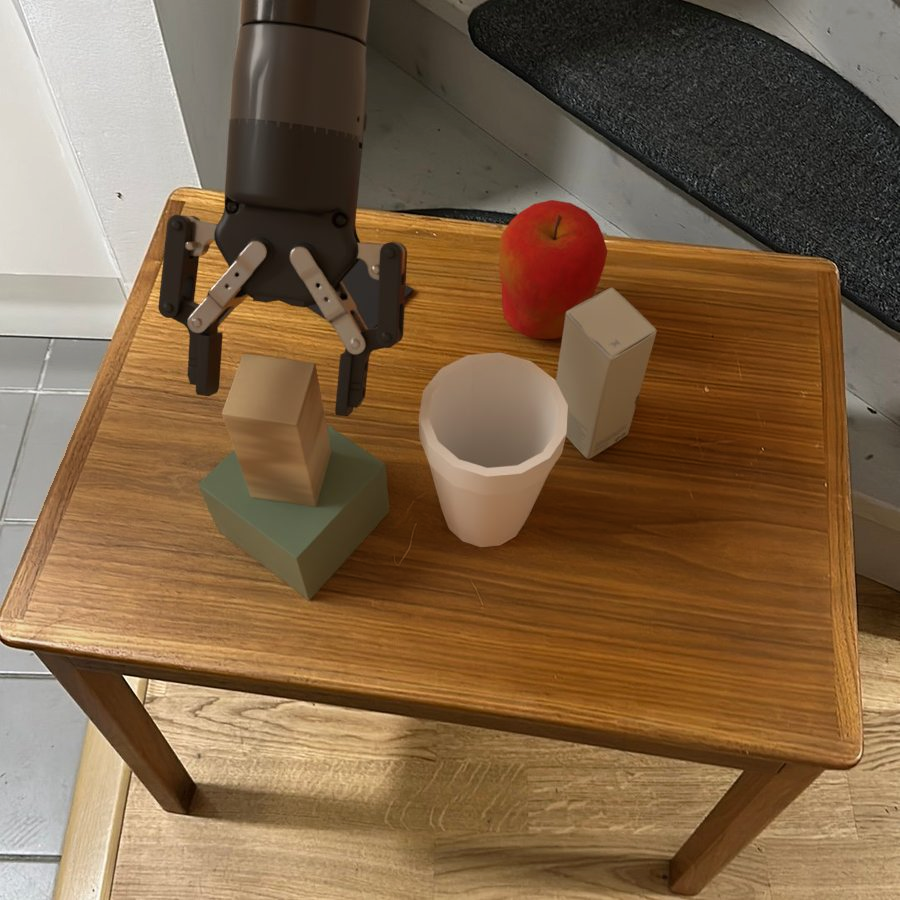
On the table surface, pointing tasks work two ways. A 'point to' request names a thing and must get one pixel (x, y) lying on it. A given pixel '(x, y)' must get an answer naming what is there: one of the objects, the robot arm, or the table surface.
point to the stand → (302, 516)
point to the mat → (362, 293)
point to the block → (278, 428)
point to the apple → (548, 266)
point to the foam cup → (491, 442)
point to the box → (602, 369)
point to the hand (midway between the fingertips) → (275, 403)
